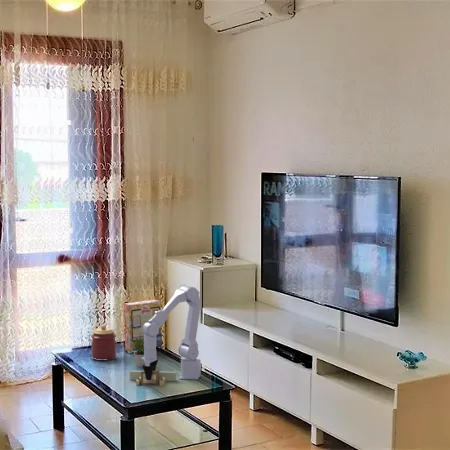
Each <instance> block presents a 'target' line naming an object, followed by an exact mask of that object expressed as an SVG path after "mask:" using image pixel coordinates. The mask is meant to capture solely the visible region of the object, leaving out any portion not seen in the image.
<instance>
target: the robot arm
mask: <svg viewBox="0 0 450 450" xmlns="http://www.w3.org/2000/svg"><path fill="white" fill-rule="evenodd" d="M200 297H201V296H200V291H199V290H198V289H197V288H196V287H193V286H189V285H186V284H181V285H180V286H179V287H178V288H177V289H176V290H175V291H174V293H173V295H172V297H171V298H170V299H169V300H168V302H167V303H166V305H165V306H164V307H163V308H162V309H161V310H158V311H156V312H155V315H154V316H153V317H152V318H151V320H149V322H147V323H145V324H144V325H143V328H142V332H143V333H144V357H142V360H144V361H145V364H143V365H142V367H141V368H142V370H144V372H145V376H146V380H151V378H152V372H153V370H154V371H156V369H157V365H158V362H159V359H158V358H157V349H156V335H157V334H158V332H159V328H160V327H161V328H162V326H163V324H164V323H166V321H167V320H168V318H169V314H170V313H171V312H172V311H173V310H174V309H175V308H176V307H177V306H178V305H179V304H180V303H185V302H186V303H187V305H188V312H187V319H186V326H185V333H184V338H183V339H181V341H180V345H179V347H178V349H177V351H178V354H179V355H180V376H179V377H178V378H179V380H199V379H200V378H201V376H202V374H201V373H202V369H201V368H202V367H201V366H202V365H201V363H202V362H201V359H200V358H198V356H199V344H198V342H197V334H198V327H199V319H200V314H201V308H202V306H201V305H202V302H201V298H200ZM200 375H201V376H200ZM199 377H200V378H199ZM198 378H199V379H198Z"/></svg>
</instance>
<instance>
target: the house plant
mask: <svg viewBox="0 0 450 450" xmlns="http://www.w3.org/2000/svg"><path fill="white" fill-rule="evenodd" d="M135 337H136V336H135ZM130 338H131V337H130ZM130 338H129V339H130ZM130 340H132V339H130ZM136 340H137V342H135V341H133V340H132V342H133V343H134V344H132V345H134V346H135V347H136V349H137V350H138V351H137V350H136V349H135V348H134V350H136V351H137V352H135V353H133V358H134V359H133V360H134V364H135V367H138V368H139V367H141V368H142V365H143V364H145V361H144V360H142V357H144V336H143V338H142V340H141V334H140V337H139V340H138V338H137V337H136ZM135 343H136V344H137V345H136V344H135ZM131 348H133V347H130V349H131ZM131 350H132V349H131Z"/></svg>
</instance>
